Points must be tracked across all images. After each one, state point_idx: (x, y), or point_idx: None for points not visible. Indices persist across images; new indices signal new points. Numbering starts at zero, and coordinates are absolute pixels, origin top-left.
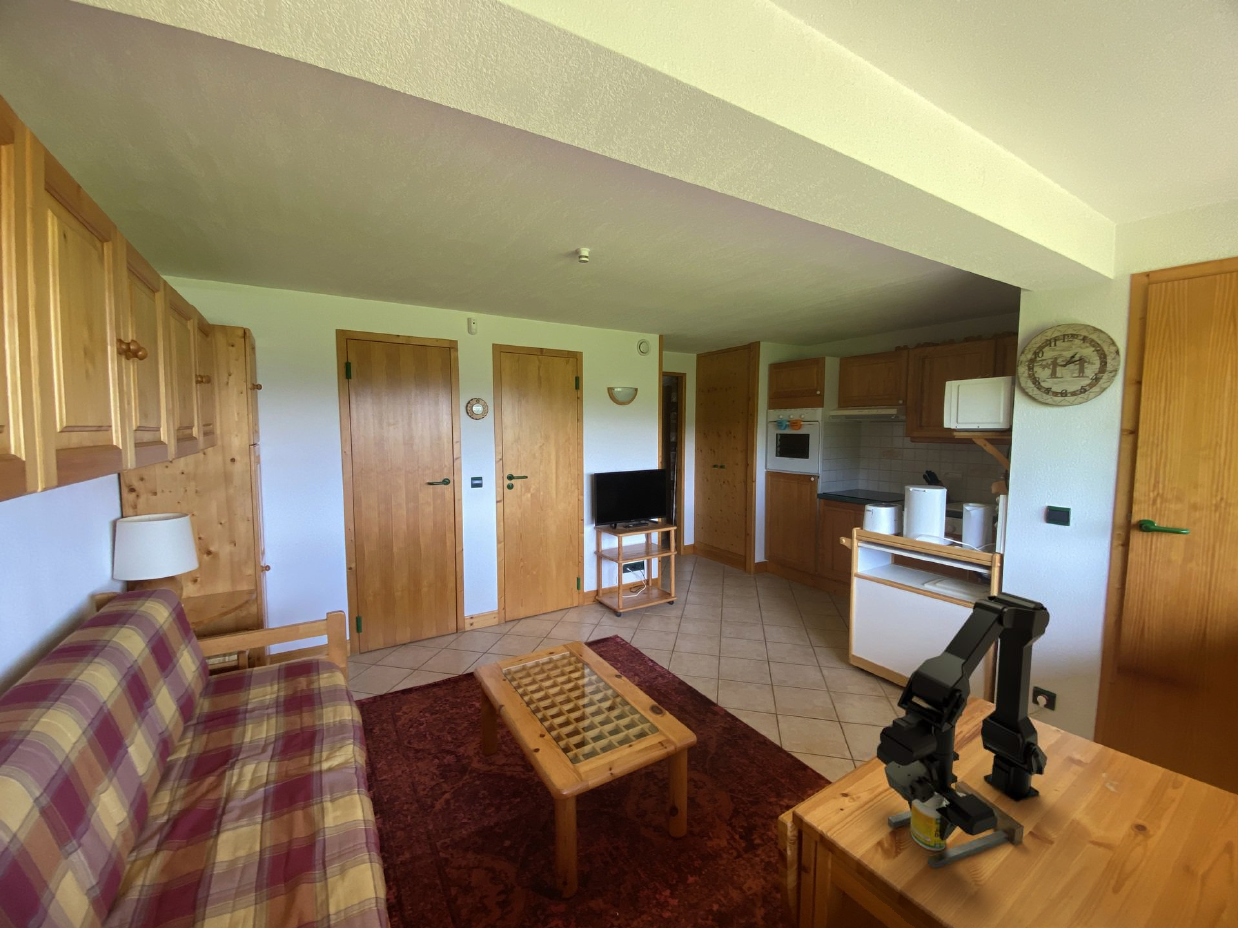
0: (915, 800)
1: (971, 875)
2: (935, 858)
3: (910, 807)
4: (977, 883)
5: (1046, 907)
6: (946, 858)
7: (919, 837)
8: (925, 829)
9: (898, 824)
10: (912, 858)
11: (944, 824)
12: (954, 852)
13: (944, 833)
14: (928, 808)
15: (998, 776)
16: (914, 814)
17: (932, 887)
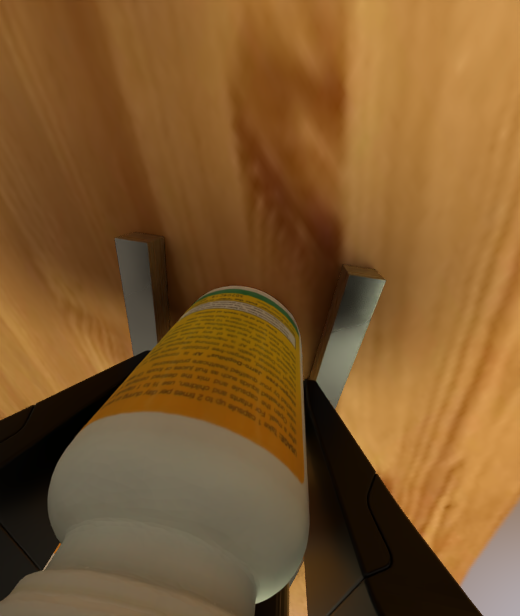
0: (223, 490)
1: (96, 322)
2: (132, 262)
3: (319, 398)
4: (70, 310)
5: (6, 381)
6: (126, 301)
7: (226, 297)
8: (176, 332)
9: (336, 297)
10: (198, 193)
11: (7, 428)
12: (140, 348)
13: (90, 377)
14: (78, 490)
15: (259, 604)
16: (238, 364)
17: (61, 132)
